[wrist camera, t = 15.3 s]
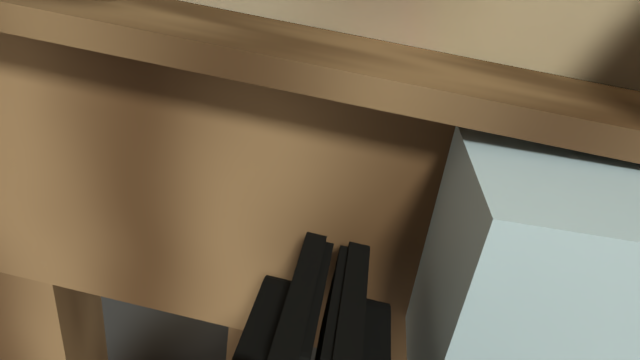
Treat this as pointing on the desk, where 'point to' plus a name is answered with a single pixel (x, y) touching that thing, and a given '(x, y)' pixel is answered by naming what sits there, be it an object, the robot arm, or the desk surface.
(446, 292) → the block
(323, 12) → the desk surface
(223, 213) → the board
